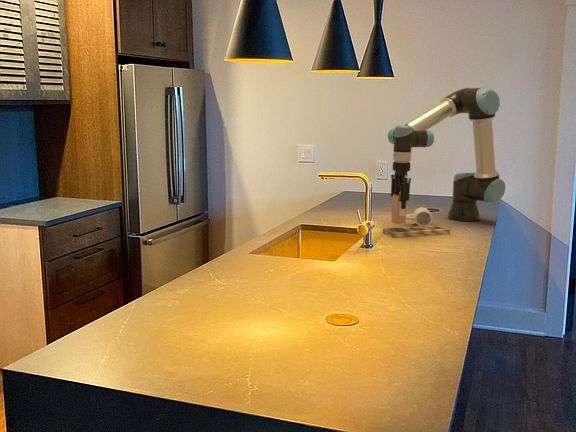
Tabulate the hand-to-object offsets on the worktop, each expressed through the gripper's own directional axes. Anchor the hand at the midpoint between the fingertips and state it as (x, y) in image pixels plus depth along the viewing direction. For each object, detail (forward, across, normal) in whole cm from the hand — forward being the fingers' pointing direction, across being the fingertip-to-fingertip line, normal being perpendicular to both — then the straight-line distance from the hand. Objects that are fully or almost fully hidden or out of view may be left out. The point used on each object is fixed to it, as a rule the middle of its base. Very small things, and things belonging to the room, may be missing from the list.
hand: (398, 214), depth 285 cm
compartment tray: (+9, 0, +9) cm, 13 cm away
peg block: (+3, 0, 0) cm, 3 cm away
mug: (+9, -16, +19) cm, 27 cm away
